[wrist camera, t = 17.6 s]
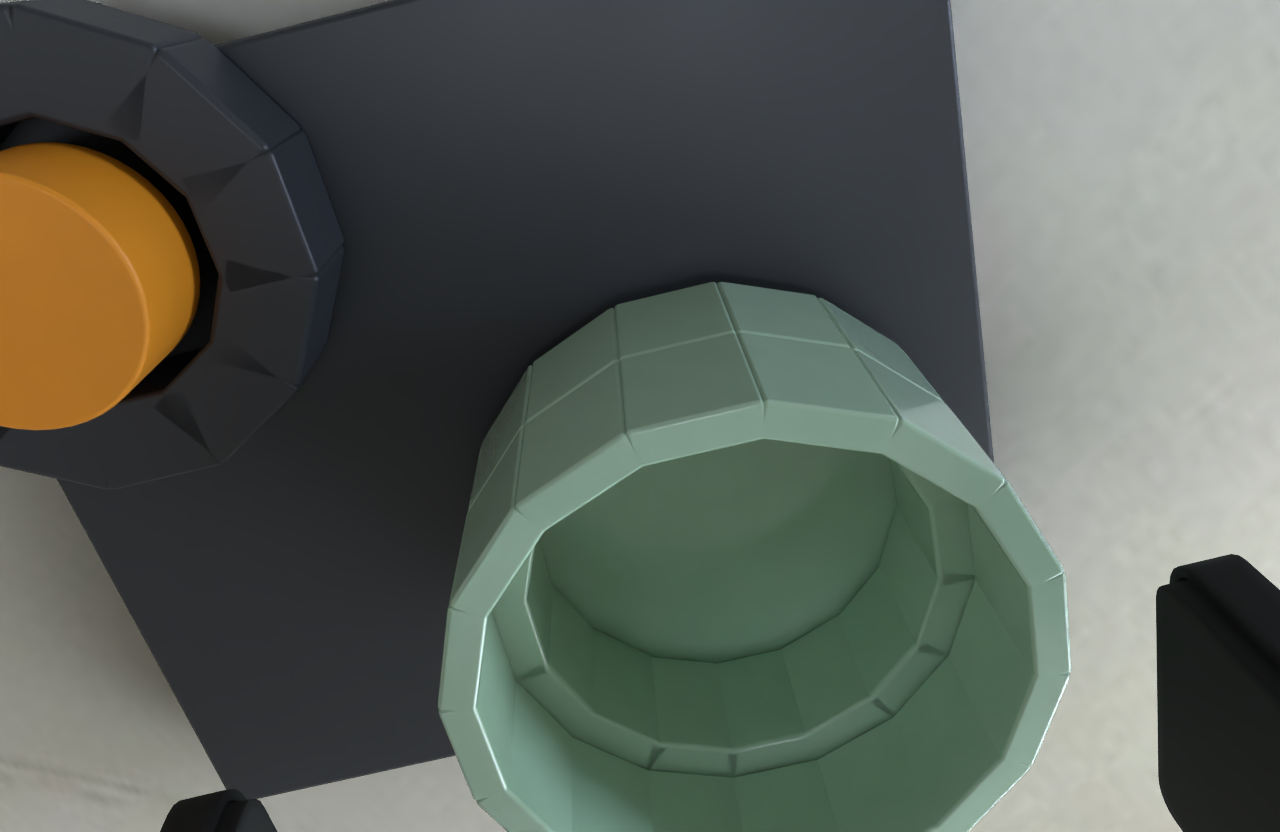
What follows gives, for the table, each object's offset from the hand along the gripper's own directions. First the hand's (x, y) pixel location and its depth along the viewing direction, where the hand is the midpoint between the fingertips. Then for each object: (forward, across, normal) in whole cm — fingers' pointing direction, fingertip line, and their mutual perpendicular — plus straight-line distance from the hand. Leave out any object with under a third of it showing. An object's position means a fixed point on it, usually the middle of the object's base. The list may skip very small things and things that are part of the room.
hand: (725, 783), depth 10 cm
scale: (+7, +2, -2) cm, 8 cm away
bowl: (+6, -1, 0) cm, 6 cm away
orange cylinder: (+5, +6, -6) cm, 10 cm away
